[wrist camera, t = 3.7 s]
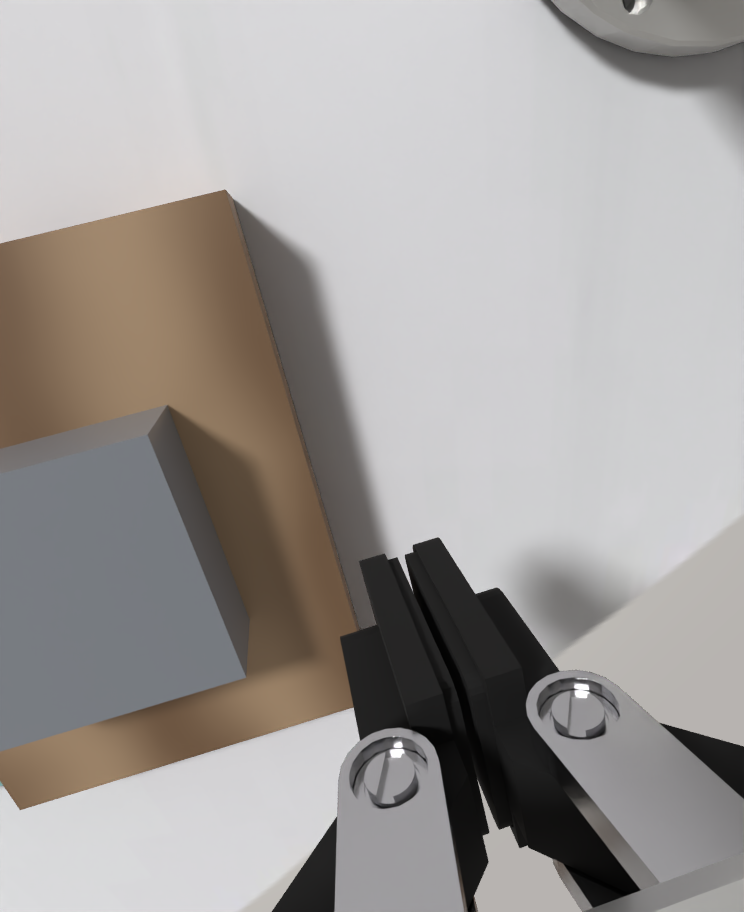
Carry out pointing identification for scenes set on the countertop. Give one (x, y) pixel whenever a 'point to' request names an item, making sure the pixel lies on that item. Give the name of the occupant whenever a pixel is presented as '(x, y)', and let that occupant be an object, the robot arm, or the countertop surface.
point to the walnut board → (208, 450)
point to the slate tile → (109, 579)
